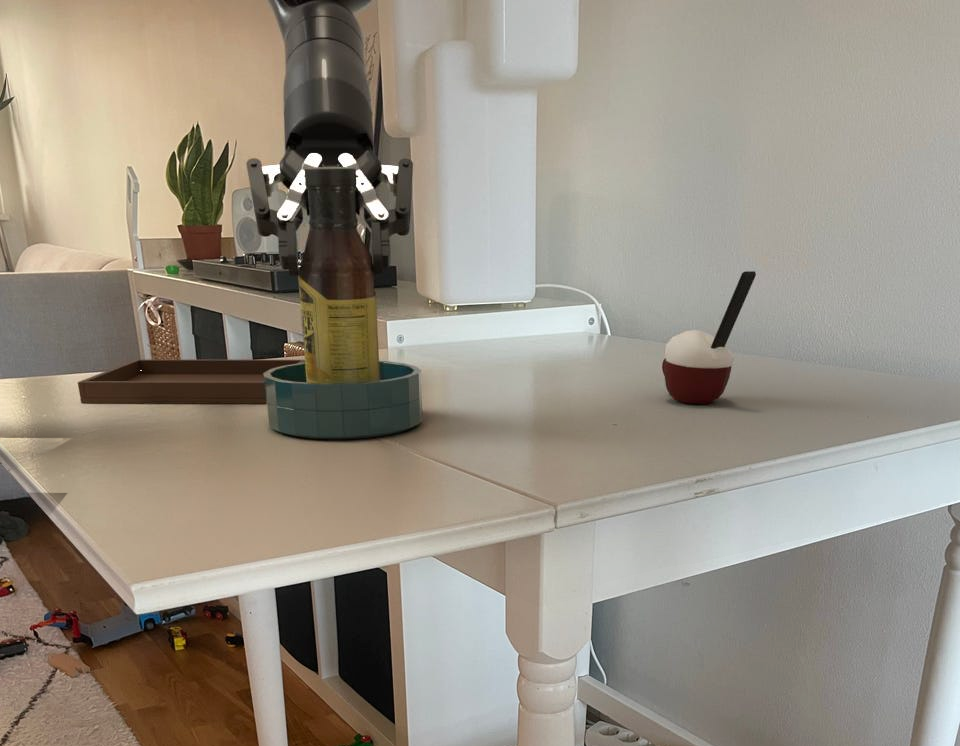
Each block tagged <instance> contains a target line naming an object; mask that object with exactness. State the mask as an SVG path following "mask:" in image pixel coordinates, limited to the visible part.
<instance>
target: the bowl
mask: <svg viewBox="0 0 960 746" xmlns="http://www.w3.org/2000/svg"><path fill="white" fill-rule="evenodd" d="M379 370H380V381H371V382H356V383H307V379H306V366H305V363H298V364H291V365H285V366H280V367H276V368H273V369H270V370H268V371H266V372H265V373H263V377H264V388H265V398H266V404H265V407H266V408H265V409H266V418H267V419H266V420H267V424H268V426H269V428H270V429H272V430H275V431H276V432H279V433H282V434H285V435H287V436H290V437H291V436H292V437H296V438H305V439H314V440H358V439H368V438H377V437H384V436H389V435H394V434H398V433H402V432H405V431H407V430H410V429H411V428H414V427H415V426H418V425H420V424H421V422H422V420H423V396H422V395H423V392H422V390H423V389H422V369H421V368H419V367H418V366H416V365H412V364H408V363H404V362H397V361H390V360H389V361H387V360H379Z"/></svg>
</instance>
